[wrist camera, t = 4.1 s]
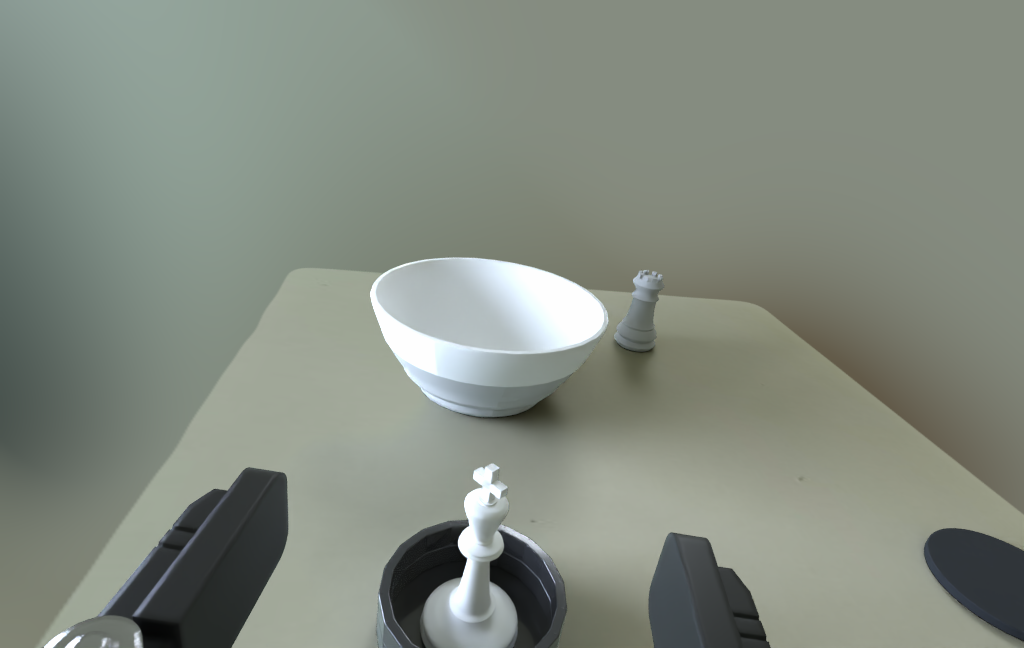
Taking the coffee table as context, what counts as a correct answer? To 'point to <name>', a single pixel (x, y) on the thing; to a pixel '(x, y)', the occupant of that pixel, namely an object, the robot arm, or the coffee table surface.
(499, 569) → the round container
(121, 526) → the coffee table surface
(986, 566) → the coaster
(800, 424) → the coffee table surface
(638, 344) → the rook chess piece
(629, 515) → the coffee table surface
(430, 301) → the bowl
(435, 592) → the chess piece
